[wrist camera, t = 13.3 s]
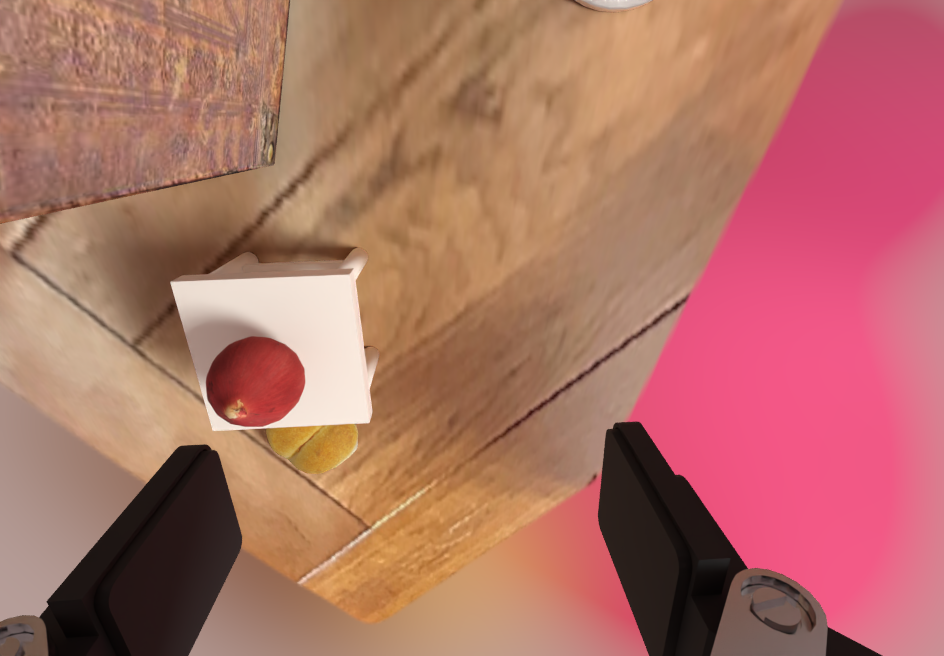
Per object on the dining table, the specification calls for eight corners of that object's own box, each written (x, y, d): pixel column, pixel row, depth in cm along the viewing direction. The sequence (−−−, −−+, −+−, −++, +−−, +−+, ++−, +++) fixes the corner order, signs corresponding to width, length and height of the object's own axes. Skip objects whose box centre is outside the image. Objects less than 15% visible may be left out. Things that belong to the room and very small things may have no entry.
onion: (281, 405, 36) (237, 475, 28) (218, 355, 34) (154, 416, 27) (333, 358, 34) (302, 419, 27) (270, 303, 33) (218, 352, 25)
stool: (371, 242, 41) (349, 274, 32) (384, 364, 46) (369, 423, 37) (232, 247, 41) (170, 281, 32) (260, 370, 46) (213, 431, 36)
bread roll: (307, 372, 46) (295, 393, 43) (373, 429, 49) (367, 453, 45) (252, 420, 48) (235, 444, 44) (318, 472, 51) (308, 499, 47)
